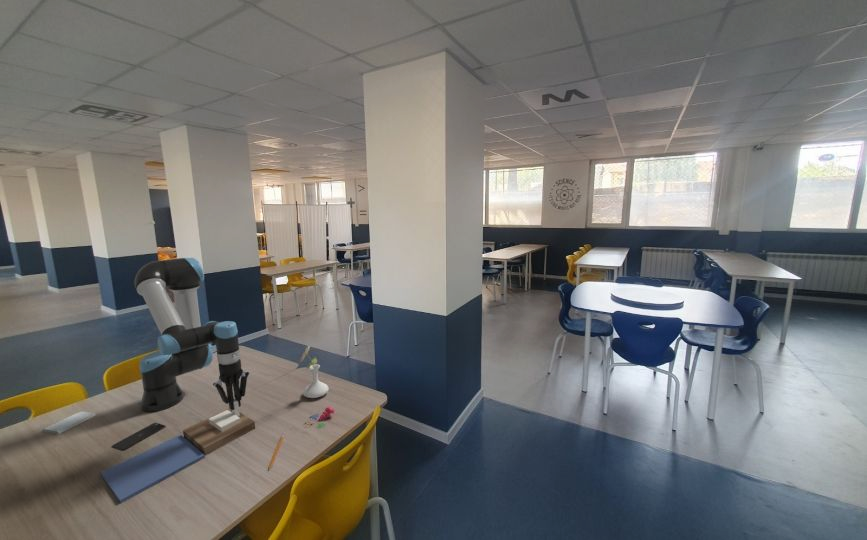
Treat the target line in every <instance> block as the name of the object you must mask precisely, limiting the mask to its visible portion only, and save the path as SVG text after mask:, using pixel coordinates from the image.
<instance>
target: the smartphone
mask: <svg viewBox="0 0 867 540" xmlns="http://www.w3.org/2000/svg"><path fill="white" fill-rule="evenodd" d="M166 427H167V426H166V425H165V424H161V423H158V422H153V423H151V424H149V425H147V426H145V427H144V428H141V429H140V430H138V431H136V432H134V433H132V434H131V435H129V436H127V437H124V438H123V439H121V440H119V441H117V442H116V443H114V444H112V445H111V448H113V449H115V450H119V451H121V452H122V451H124V452H125V451H127V450H129V449H130V448H132V447H133V446H135V445H137V444H139V443H141V442H143V441H144V440H146V439H148V438H149V437H151V436H153V435H155V434H157V433H158V432H161V431H162V430H164V429H165V428H166Z"/></svg>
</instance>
